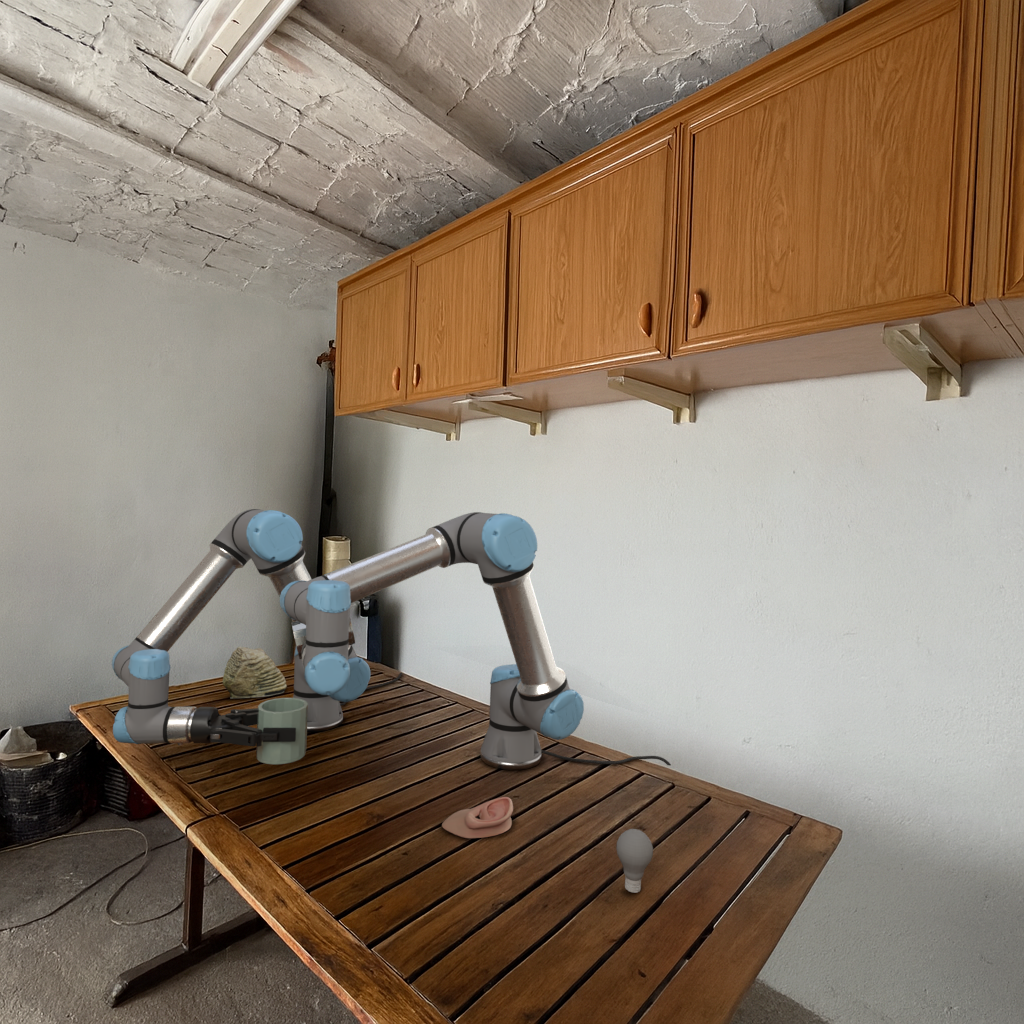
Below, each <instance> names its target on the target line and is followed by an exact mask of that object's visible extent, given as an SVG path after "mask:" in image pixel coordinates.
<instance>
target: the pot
mask: <svg viewBox="0 0 1024 1024" xmlns="http://www.w3.org/2000/svg"><path fill="white" fill-rule="evenodd" d="M257 708H258V716H257V725H256V728H257V729H261V730H262V732H263V729H264V728H296V740H295V742H263V741H262V746H259V747H256V746H255V755H256V756H255V757H256V760H257V761H258V762H260V763H263V764H266V765H286V764H290V763H294V762H297V761H299V760H301V759H303V758H304V757H305V755H306V754H307V740H308V732H307V718H308V703H307V702H306V701H305V700H302V699H298V698H293V697H278V698H272V699H267V700H264V701H263V702H261V703H259V704H258V705H257Z"/></svg>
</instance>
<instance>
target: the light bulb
mask: <svg viewBox="0 0 1024 1024" xmlns="http://www.w3.org/2000/svg"><path fill="white" fill-rule="evenodd" d="M615 849H616V854H617V857H618V859H619V861H620V863H621V865H622V867H623V873H624V874H623V875H624V876H625V878H624V888H625V890H627V891H628V892H630V893H634V894H635V893H639V892H640V891H641V889H642V887H641V886H642V879H643V877H644V875H645V871H646V868H647V867H648V866H649V864H650V863H651V861H652V859H653V855H654V847H653V843H652V841H651V838H649V836H648V835H647V834H646V833H645V832H643V831H642V830H641V829H636V828H629V829H627V830H625V831H623V832H622V833H621V834H620V835H619V837H618V839H617V841H616V847H615Z"/></svg>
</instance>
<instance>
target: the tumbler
mask: <svg viewBox="0 0 1024 1024" xmlns="http://www.w3.org/2000/svg"><path fill="white" fill-rule="evenodd" d="M290 623H291V627H292V628H291V629H292V633H293V637H294V641H295V648H296V647H297V651H298V655H299V659H302V654H301V651H302V646H303V644H304V642H305V641H306V625H304V624H302V623H301V622H299V621H295V622H293V621H291V622H290ZM348 638H349V640H348V642H349V645H352V646H353V645H355V644H356V639H355V638H356V637H355V632H354V627H353V624H352V620H351V617H350V618H349V636H348Z"/></svg>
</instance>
